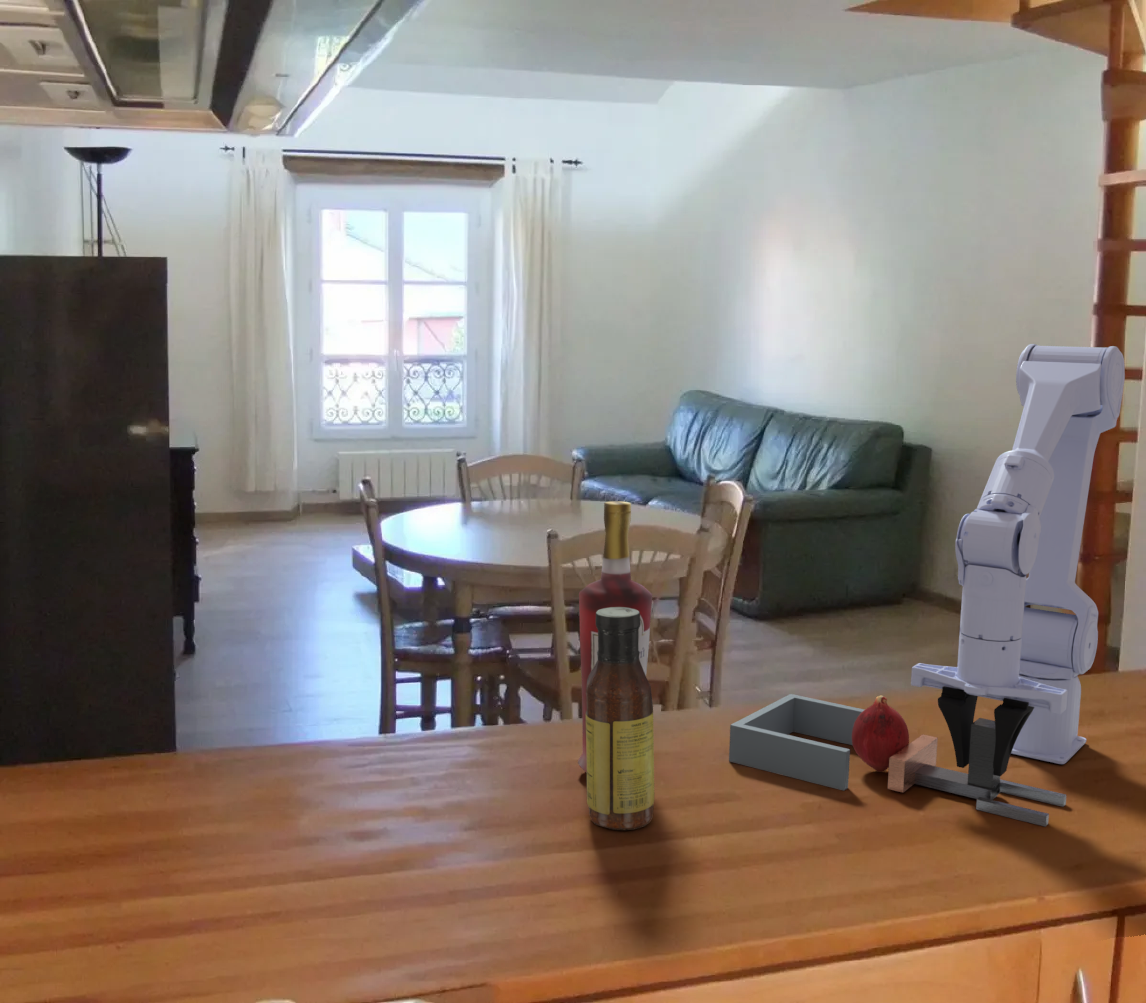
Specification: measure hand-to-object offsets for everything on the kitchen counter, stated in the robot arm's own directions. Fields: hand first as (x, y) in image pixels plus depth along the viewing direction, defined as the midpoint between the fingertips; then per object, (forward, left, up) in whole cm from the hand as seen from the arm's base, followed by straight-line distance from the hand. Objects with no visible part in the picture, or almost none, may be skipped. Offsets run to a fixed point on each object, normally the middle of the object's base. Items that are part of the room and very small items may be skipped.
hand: (981, 768), depth 122 cm
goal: (0, -17, -3) cm, 17 cm away
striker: (0, -3, -3) cm, 4 cm away
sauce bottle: (+27, -25, -3) cm, 37 cm away
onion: (0, -10, -3) cm, 11 cm away
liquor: (+18, -32, -3) cm, 37 cm away
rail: (0, +4, -3) cm, 5 cm away
